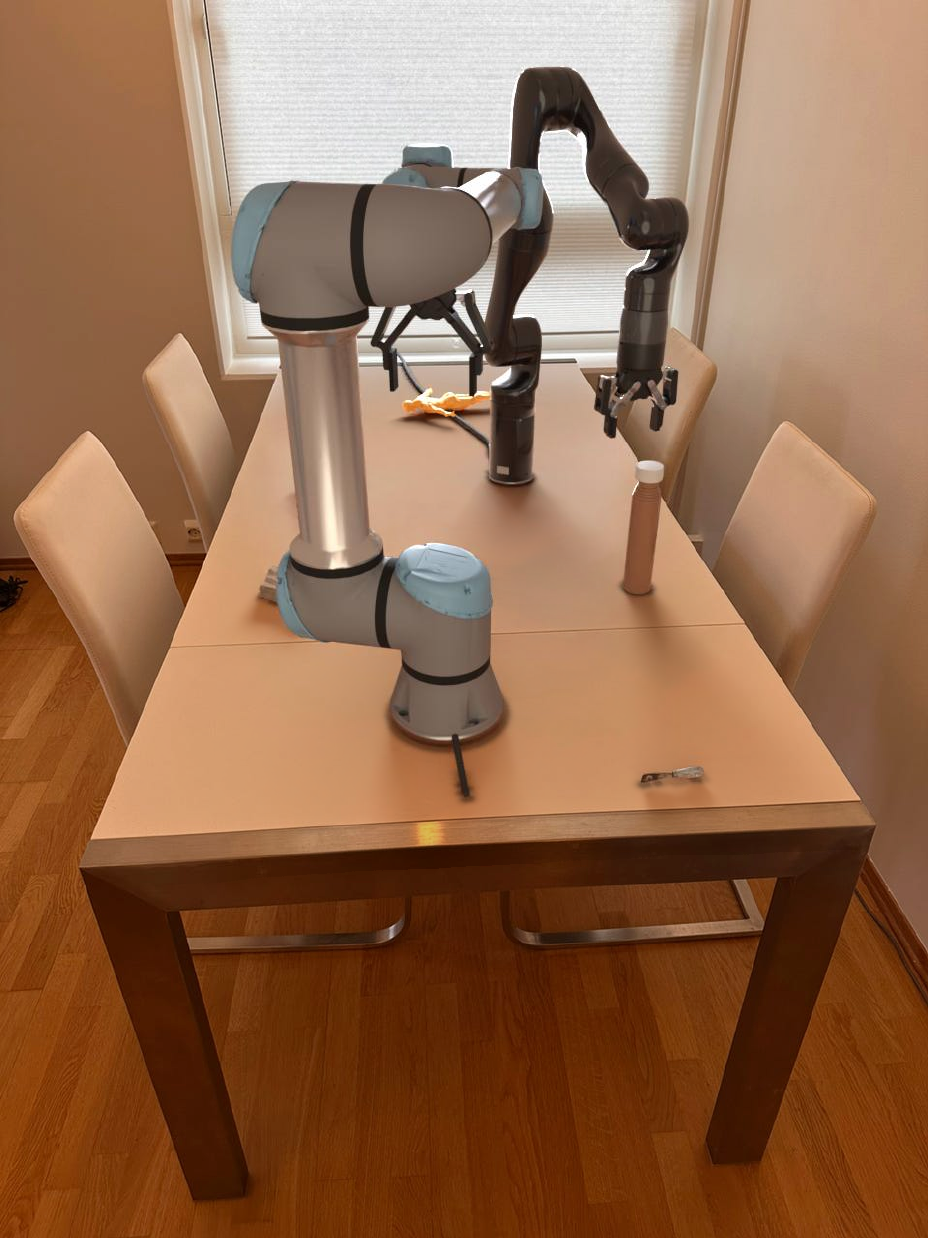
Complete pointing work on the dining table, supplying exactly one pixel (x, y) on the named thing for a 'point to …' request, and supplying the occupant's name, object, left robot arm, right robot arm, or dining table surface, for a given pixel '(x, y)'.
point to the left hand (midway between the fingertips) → (433, 391)
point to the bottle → (642, 537)
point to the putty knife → (674, 774)
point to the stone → (269, 585)
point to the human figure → (444, 402)
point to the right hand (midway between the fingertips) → (632, 433)
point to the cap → (649, 471)
